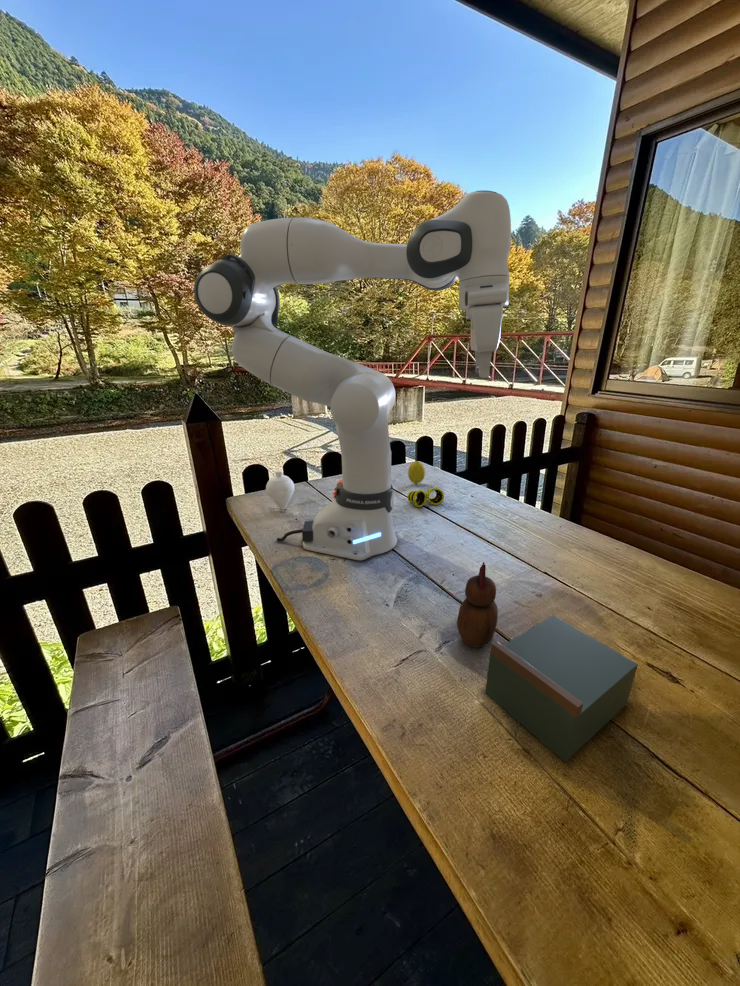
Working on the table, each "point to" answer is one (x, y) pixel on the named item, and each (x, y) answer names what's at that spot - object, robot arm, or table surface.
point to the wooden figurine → (478, 611)
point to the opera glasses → (425, 497)
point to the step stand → (559, 683)
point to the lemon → (416, 472)
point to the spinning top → (280, 489)
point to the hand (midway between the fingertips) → (482, 375)
